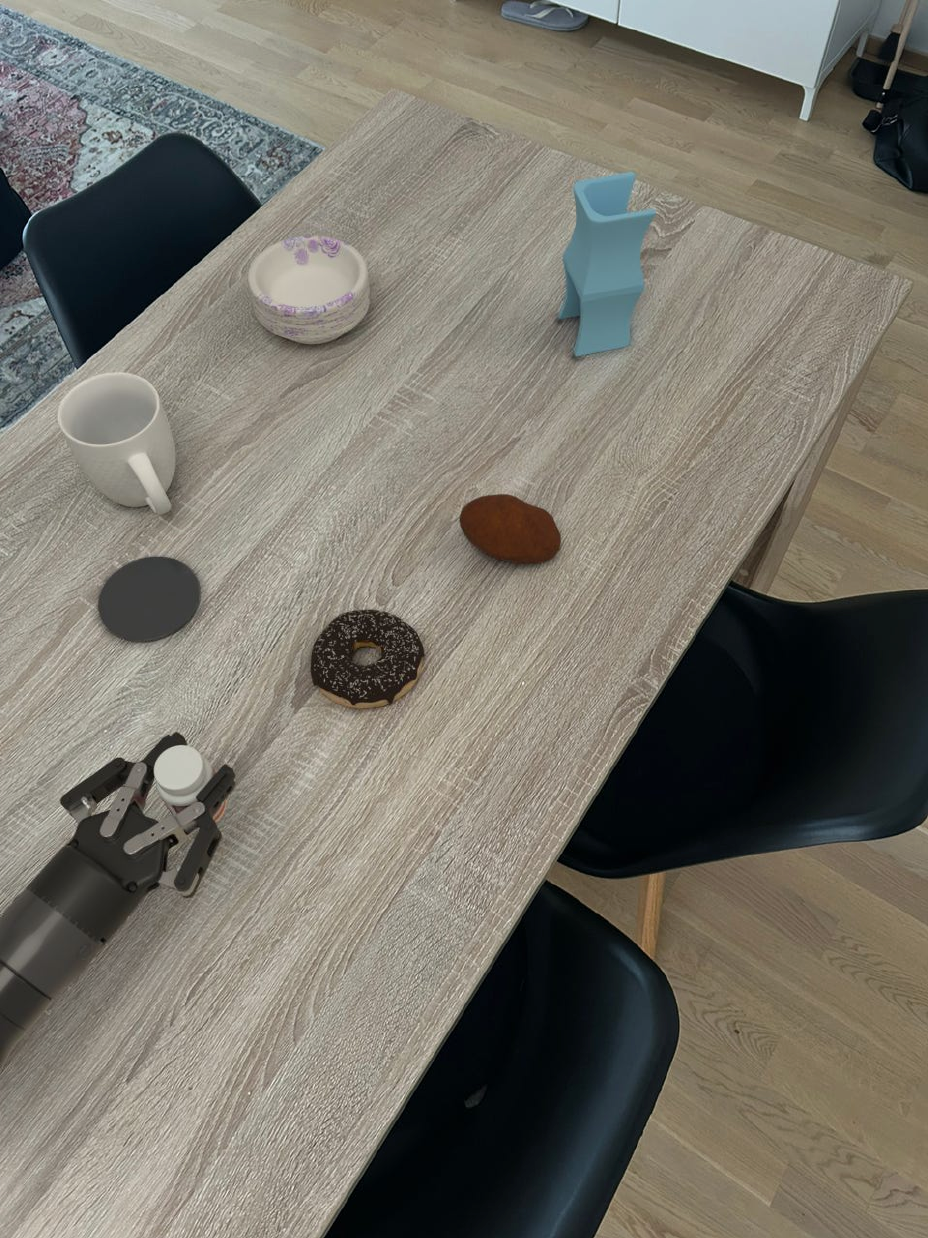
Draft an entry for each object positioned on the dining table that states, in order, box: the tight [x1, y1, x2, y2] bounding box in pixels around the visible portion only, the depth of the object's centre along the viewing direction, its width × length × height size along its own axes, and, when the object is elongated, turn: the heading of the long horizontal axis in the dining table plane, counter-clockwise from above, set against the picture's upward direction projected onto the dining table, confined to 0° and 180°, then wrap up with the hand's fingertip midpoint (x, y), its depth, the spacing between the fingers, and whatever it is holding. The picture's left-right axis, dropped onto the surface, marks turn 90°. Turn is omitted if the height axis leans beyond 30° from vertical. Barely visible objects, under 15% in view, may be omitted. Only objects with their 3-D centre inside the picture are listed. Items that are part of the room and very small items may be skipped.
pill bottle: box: [154, 745, 227, 823], centre depth 88 cm, size 5×5×8 cm
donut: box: [310, 609, 426, 710], centre depth 108 cm, size 11×12×4 cm
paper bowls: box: [247, 235, 371, 345], centre depth 134 cm, size 15×15×8 cm
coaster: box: [97, 556, 201, 643], centre depth 114 cm, size 11×11×1 cm
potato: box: [458, 493, 562, 565], centre depth 114 cm, size 8×12×8 cm, turn 78°
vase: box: [557, 171, 657, 357], centre depth 128 cm, size 8×8×20 cm
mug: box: [56, 371, 177, 516], centre depth 116 cm, size 15×11×13 cm
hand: (206, 754), depth 88 cm, fingers closed on pill bottle, 4 cm apart
